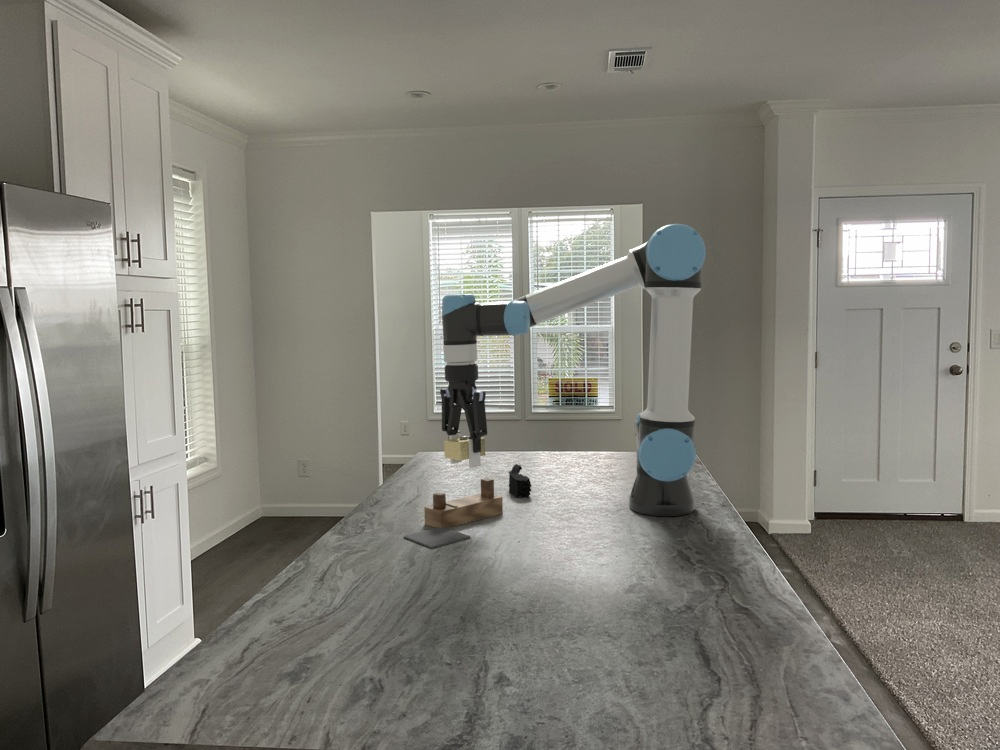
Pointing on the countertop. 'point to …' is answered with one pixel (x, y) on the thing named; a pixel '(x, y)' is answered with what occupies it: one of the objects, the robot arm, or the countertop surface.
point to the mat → (436, 537)
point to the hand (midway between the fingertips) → (465, 464)
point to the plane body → (464, 507)
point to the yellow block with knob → (460, 448)
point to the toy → (518, 483)
